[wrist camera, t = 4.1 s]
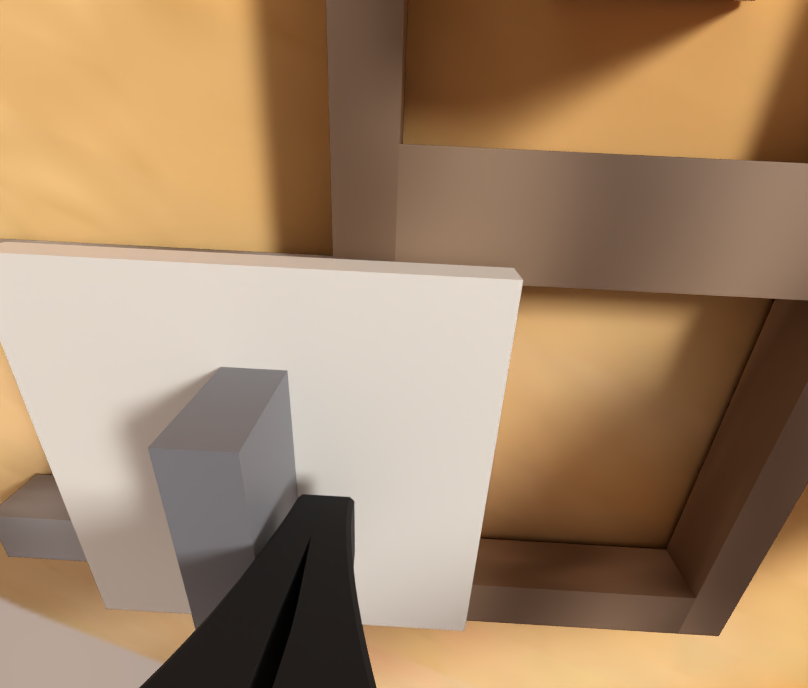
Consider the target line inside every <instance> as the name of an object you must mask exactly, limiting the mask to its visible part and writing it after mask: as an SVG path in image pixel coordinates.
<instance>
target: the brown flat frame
mask: <svg viewBox="0 0 808 688" xmlns="http://www.w3.org/2000/svg"><path fill="white" fill-rule="evenodd" d="M407 16H408V0H326V22H327V58H328V95H329V131H330V167H331V204H332V240H333V256H326V255H307V254H287V253H268V252H249V251H229V250H210V249H190V248H171V247H152V246H132V245H113V244H93V243H74V242H55V241H35V240H16V239H0V243H2V242H22V243H41V244H60V245H80V246H99V247H119V248H138V249H157V250H177V251H196V252H215V253H235V254H254V255H274V256H293V257H312V258H332V259H351V260H370V261H390V262H409V263H429V264H448V265H467V266H487V267H506V268H514V269H515V270H516V271H517V273H518V274H519V275H520V277H521V278H522V279H523V285H522V286H541V287H560V288H580V289H599V290H618V291H637V292H656V293H676V294H695V295H714V296H733V297H752V298H772V299H775V301H774V303H773V305H772V308H771V310H770V312H769V314H768V317H767V319H766V321H765V324H764V326H763V328H762V331H761V333H760V335H759V337H758V340H757V342H756V344H755V347H754V349H753V351H752V354H751V356H750V358H749V360H748V363H747V365H746V367H745V370H744V372H743V374H742V376H741V379H740V381H739V383H738V386H737V388H736V390H735V393H734V395H733V397H732V399H731V402H730V404H729V406H728V409H727V411H726V413H725V416H724V418H723V420H722V422H721V425H720V427H719V429H718V432H717V434H716V436H715V438H714V441H713V443H712V445H711V448H710V450H709V452H708V455H707V457H706V459H705V461H704V464H703V466H702V468H701V471H700V473H699V475H698V478H697V480H696V482H695V484H694V487H693V489H692V491H691V494H690V496H689V498H688V501H687V503H686V505H685V507H684V510H683V512H682V514H681V517H680V519H679V521H678V523H677V526H676V528H675V530H674V533H673V535H672V537H671V540H670V542H669V544H668V546H667V549H666V550H665V549H648V548H631V547H614V546H598V545H581V544H564V543H547V542H530V541H514V540H497V539H480V541H479V547H478V553H477V559H476V565H475V571H474V577H473V583H472V589H471V595H470V601H469V607H468V613H467V619H466V620H467V621H483V622H499V623H515V624H531V625H548V626H564V627H580V628H596V629H612V630H628V631H644V632H660V633H676V634H692V635H709V636H719V635H720V633H721V631H722V630H723V628H724V626H725V624H726V623H727V621H728V619H729V618H730V616H731V614H732V612H733V611H734V609H735V607H736V606H737V604H738V602H739V600H740V599H741V597H742V595H743V593H744V592H745V590H746V588H747V587H748V585H749V583H750V581H751V580H752V578H753V576H754V575H755V573H756V571H757V569H758V568H759V566H760V564H761V563H762V561H763V559H764V557H765V556H766V554H767V552H768V551H769V549H770V547H771V545H772V544H773V542H774V540H775V538H776V537H777V535H778V533H779V532H780V530H781V528H782V526H783V525H784V523H785V521H786V520H787V518H788V516H789V514H790V513H791V511H792V509H793V508H794V506H795V504H796V502H797V501H798V499H799V497H800V496H801V494H802V492H803V490H804V489H805V487H806V485H807V483H808V163H789V162H769V161H748V160H727V159H706V158H685V157H665V156H644V155H623V154H602V153H581V152H561V151H540V150H519V149H498V148H477V147H457V146H436V145H415V144H403V120H404V94H405V68H406V42H407ZM0 541H1V543H2V545H3V547H4V549H5V551H6V553H7V555H8V557H24V558H40V559H56V560H73V561H87V559H86V557H85V554H84V552H83V549H82V547H81V544H80V542H79V539H78V537H77V534H76V531H75V529H74V526H73V524H72V521H71V519H70V516H69V514H68V511H67V509H66V506H65V504H64V501H63V499H62V496H61V493H60V491H59V488H58V486H57V483H56V481H55V478H54V476H53V475H38V474H36V475H35V476H34V477H33V478H31V479H30V480H29V481H28V482H27V483H25V484H24V485H23V486H22V487H21V488H20V489H18V490H17V491H16V492H15V493H14V494H13V495H11V496H10V497H9V498H8V499H7V500H6V501H4V502H3V503H2V504H1V505H0Z"/></svg>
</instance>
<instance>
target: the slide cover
mask: <svg viewBox="0 0 808 688" xmlns="http://www.w3.org/2000/svg"><path fill="white" fill-rule="evenodd" d="M522 285H523V279H522V278H521V277H520V275H519V274H518V273H517V271H516V270H515V269H514V268H506V267H487V266H467V265H448V264H429V263H409V262H390V261H370V260H351V259H332V258H312V257H293V256H274V255H254V254H235V253H215V252H196V251H177V250H157V249H138V248H119V247H99V246H80V245H60V244H41V243H22V242H2V243H0V342H1V344H2V347H3V349H4V352H5V354H6V357H7V359H8V362H9V364H10V367H11V369H12V372H13V375H14V377H15V380H16V382H17V385H18V387H19V390H20V392H21V395H22V397H23V400H24V402H25V405H26V407H27V410H28V413H29V415H30V418H31V420H32V423H33V425H34V428H35V430H36V433H37V435H38V438H39V440H40V443H41V445H42V448H43V450H44V453H45V456H46V458H47V461H48V463H49V466H50V468H51V471H52V473H53V476H54V478H55V481H56V483H57V486H58V488H59V491H60V493H61V496H62V499H63V501H64V504H65V506H66V509H67V511H68V514H69V516H70V519H71V521H72V524H73V526H74V529H75V531H76V534H77V537H78V539H79V542H80V544H81V547H82V549H83V552H84V554H85V557H86V559H87V562H88V564H89V567H90V569H91V572H92V574H93V577H94V580H95V582H96V585H97V587H98V590H99V592H100V595H101V597H102V600H103V602H104V605H105V607H106V609H120V610H136V611H152V612H168V613H184V614H192V617H193V621H194V625H195V629H197V628H198V627H199V626H200V625H201V624H202V622H203V621H204V620H205V619H206V618H207V617H208V616H209V615H210V613H211V612H212V611H213V610H214V609H215V608H216V606H217V605H218V604H219V603H220V602H221V601H222V599H223V598H224V597H225V596H226V595H227V593H228V592H229V591H230V590H231V589H232V587H233V586H234V585H235V584H236V583H237V581H238V580H239V579H240V578H241V577H242V575H243V574H244V573H245V572H246V570H247V569H248V568H249V566H250V565H251V564H252V562H253V561H254V560H255V558H256V557H257V556H258V555H259V553H260V552H261V551H262V549H263V548H264V547H265V545H266V544H267V543H268V541H269V540H270V539H271V537H272V536H273V534H274V533H275V532H276V530H277V529H278V527H279V526H280V524H281V523H282V522H283V520H284V519H285V517H286V516H287V514H288V513H289V511H290V510H291V508H292V506H293V505H294V503H295V502H296V500H297V499H298V497H299V496H301V495H302V494H308V495H325V496H343V497H351V498H352V499H353V500H354V511H355V557H354V576H355V584H356V591H357V598H358V604H359V610H360V615H361V621H362V625H376V626H392V627H408V628H424V629H440V630H456V631H465V625H466V619H467V613H468V607H469V601H470V595H471V589H472V583H473V577H474V571H475V565H476V559H477V553H478V547H479V541H480V535H481V529H482V523H483V517H484V511H485V505H486V499H487V494H488V488H489V482H490V476H491V470H492V464H493V458H494V452H495V446H496V440H497V434H498V428H499V422H500V416H501V410H502V404H503V398H504V392H505V386H506V380H507V374H508V368H509V362H510V356H511V350H512V344H513V338H514V333H515V327H516V321H517V315H518V309H519V303H520V297H521V291H522Z"/></svg>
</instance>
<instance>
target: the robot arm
mask: <svg viewBox="0 0 808 688" xmlns="http://www.w3.org/2000/svg"><path fill="white" fill-rule="evenodd" d="M354 557H355V511H354V500H353V499H352V498H351V497H343V496H325V495H308V494H302V495H301V496H299V497H298V499H297V500H296V502H295V503H294V505H293V506H292V508H291V510H290V511H289V513H288V514H287V516H286V517H285V519H284V520H283V522H282V523H281V524H280V526H279V527H278V529H277V530H276V532H275V533H274V534H273V536H272V537H271V539H270V540H269V541H268V543H267V544H266V545H265V547H264V548H263V549H262V551H261V552H260V553H259V555H258V556H257V557H256V558H255V560H254V561H253V562H252V564H251V565H250V566H249V568H248V569H247V570H246V572H245V573H244V574H243V575H242V577H241V578H240V579H239V580H238V581H237V583H236V584H235V585H234V586H233V587H232V589H231V590H230V591H229V592H228V593H227V595H226V596H225V597H224V598H223V599H222V601H221V602H220V603H219V604H218V605H217V606H216V608H215V609H214V610H213V611H212V612H211V613H210V615H209V616H208V617H207V618H206V619H205V620H204V621H203V622H202V624H201V625H200V626H199V627H198V628H197V629H196V630H195V631H194V632H193V633H192V635H191V636H190V637H189V638H188V639H187V640H186V641H185V642H184V643H183V644H182V645H181V646H180V647H179V648H178V649H177V650H176V652H175V653H174V654H173V655H172V656H171V657H170V658H169V659H168V660H167V661H166V662H165V663H164V664H163V665H162V666H161V667H160V668H159V669H158V670H157V671H156V672H155V673H154V674H153V675H152V676H151V677H150V678H149V679H148V680H147V681H146V682H145V683H144V684H143V685H142V686H141V687H140V688H376V684H375V680H374V676H373V672H372V668H371V663H370V659H369V655H368V650H367V646H366V641H365V636H364V631H363V626H362V621H361V615H360V610H359V604H358V598H357V591H356V584H355V576H354Z"/></svg>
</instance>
